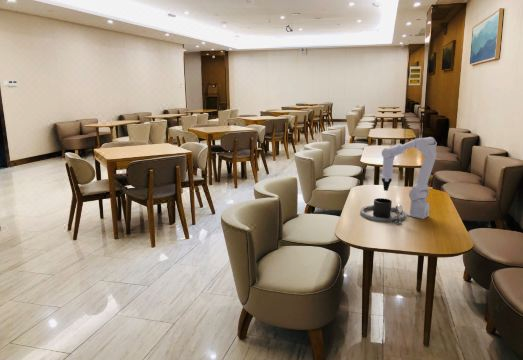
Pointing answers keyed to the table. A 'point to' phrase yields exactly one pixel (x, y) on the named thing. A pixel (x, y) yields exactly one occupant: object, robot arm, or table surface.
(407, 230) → the table surface
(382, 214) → the mug
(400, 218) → the ring
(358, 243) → the table surface
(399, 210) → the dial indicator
